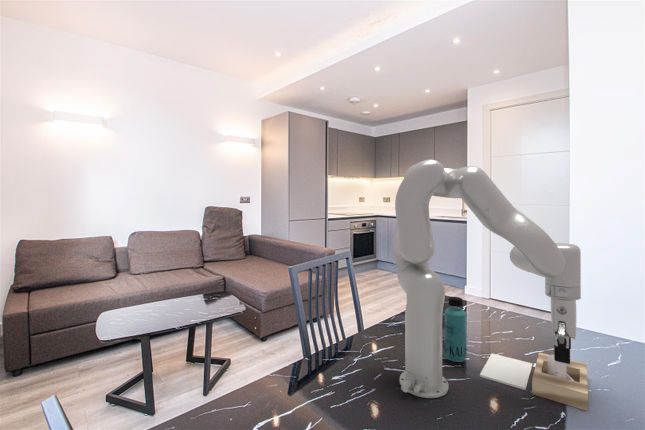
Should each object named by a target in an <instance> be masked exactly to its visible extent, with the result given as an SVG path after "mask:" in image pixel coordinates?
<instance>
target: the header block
mask: <svg viewBox="0 0 645 430" xmlns="http://www.w3.org/2000/svg"><path fill="white" fill-rule="evenodd" d="M548 355H549V354H547V353H542V352H538V355H537V359H536V362H535V363H536V364H535V367H534V371H533V374H532V381H531V395H534V396H537V397H540V398H544V399H547V400H550V401H554V402H557V403H560V404H564V405H567V406H571V407H573V408H577V409H580V410H584V411H587V412H588V411H589V386H588V385H589V384H588V367H587V366H588V364H587V363H586V362H581V361H578V360H574V359H573V360H572V359H570V364H567V369H566V373H567V374H568V375H569V376H570V377H571V378H572V379H573V380H574V381H572V380H568V379H564V378H561V377H557V376H553V375H549V374H548Z"/></svg>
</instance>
